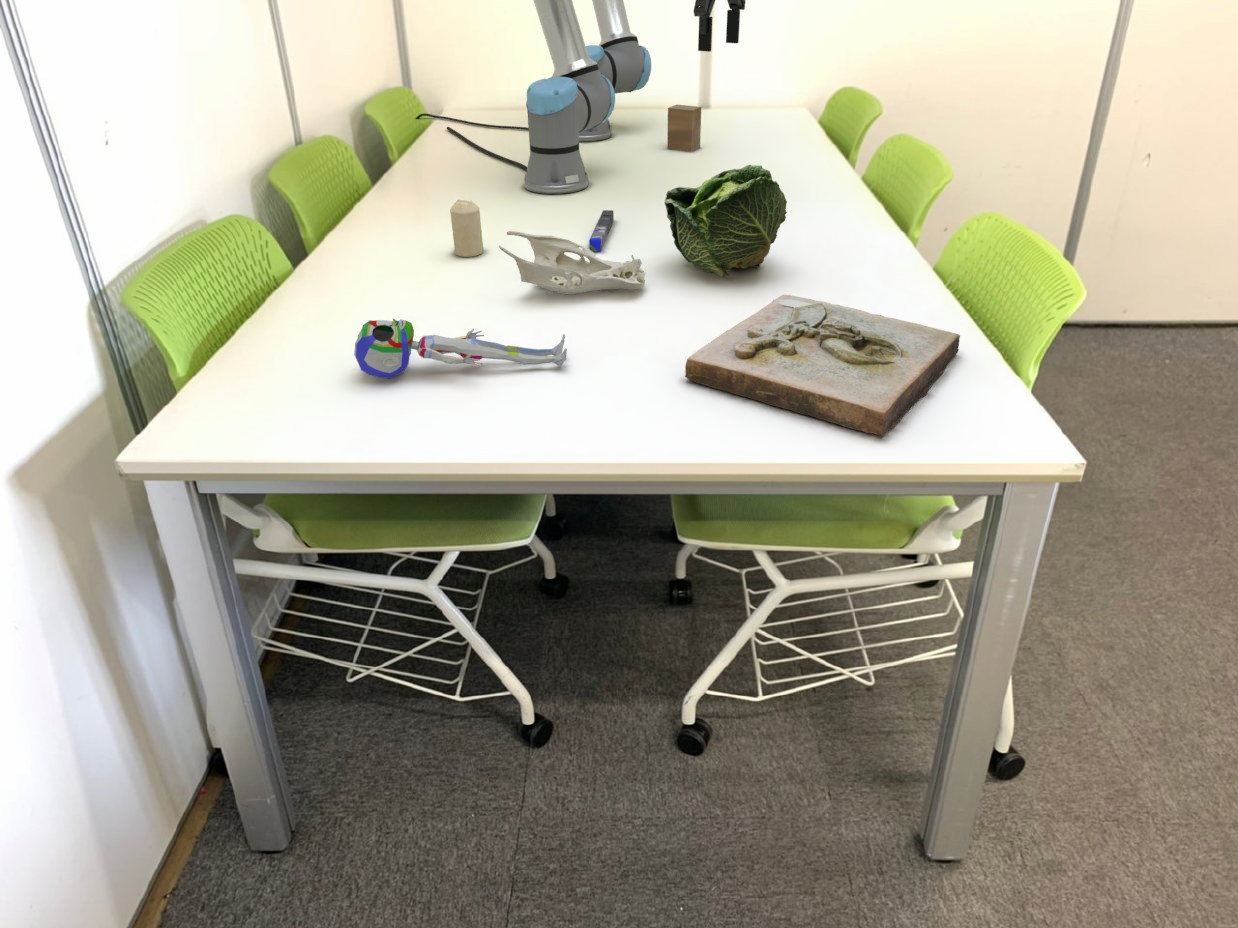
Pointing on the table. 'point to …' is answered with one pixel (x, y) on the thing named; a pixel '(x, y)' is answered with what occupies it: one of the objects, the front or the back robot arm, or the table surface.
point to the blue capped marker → (601, 230)
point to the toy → (435, 349)
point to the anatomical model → (574, 267)
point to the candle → (466, 228)
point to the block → (684, 128)
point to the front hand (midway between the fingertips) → (718, 47)
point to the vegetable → (727, 219)
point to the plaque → (827, 362)
